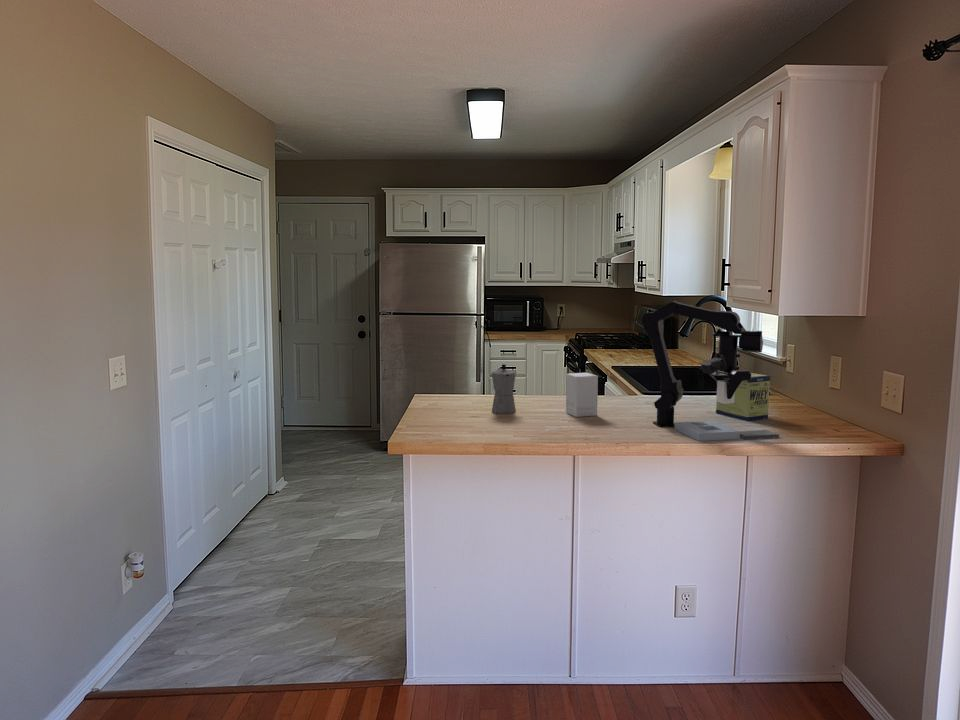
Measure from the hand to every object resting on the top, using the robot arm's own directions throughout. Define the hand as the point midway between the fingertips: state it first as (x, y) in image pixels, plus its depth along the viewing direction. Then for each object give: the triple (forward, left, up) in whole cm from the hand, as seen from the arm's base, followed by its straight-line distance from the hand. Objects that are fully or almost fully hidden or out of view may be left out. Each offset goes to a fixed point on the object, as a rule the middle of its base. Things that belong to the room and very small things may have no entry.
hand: (725, 397), depth 226 cm
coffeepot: (-48, -64, -12) cm, 80 cm away
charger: (0, 0, -2) cm, 2 cm away
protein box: (-21, +19, -12) cm, 31 cm away
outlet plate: (+2, -8, -11) cm, 14 cm away
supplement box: (-36, -37, -12) cm, 52 cm away
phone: (+8, +6, -11) cm, 15 cm away
